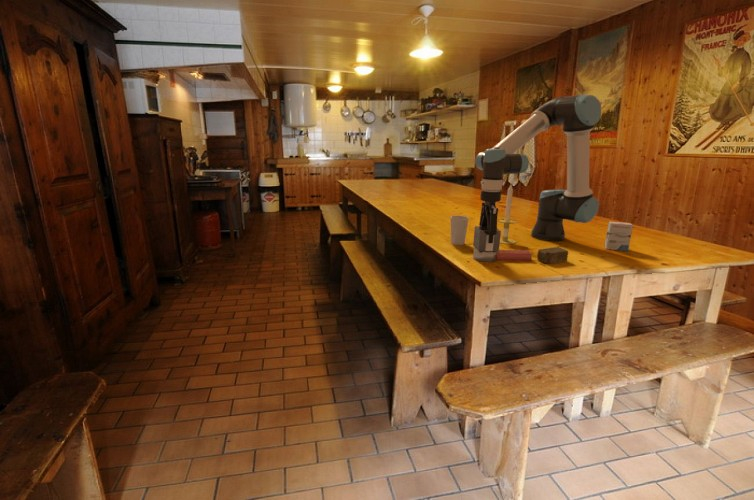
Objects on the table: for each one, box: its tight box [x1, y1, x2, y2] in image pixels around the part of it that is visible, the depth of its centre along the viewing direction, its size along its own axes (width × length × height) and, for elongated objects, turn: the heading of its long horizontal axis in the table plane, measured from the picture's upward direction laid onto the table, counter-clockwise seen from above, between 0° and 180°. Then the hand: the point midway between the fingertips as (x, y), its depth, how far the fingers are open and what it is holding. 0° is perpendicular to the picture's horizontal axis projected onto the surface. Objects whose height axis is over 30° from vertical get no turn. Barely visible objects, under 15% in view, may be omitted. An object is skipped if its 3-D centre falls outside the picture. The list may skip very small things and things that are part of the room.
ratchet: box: [472, 246, 533, 263], centre depth 159 cm, size 22×9×8 cm, turn 91°
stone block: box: [537, 246, 569, 265], centre depth 158 cm, size 6×12×5 cm, turn 113°
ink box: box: [604, 221, 634, 252], centre depth 175 cm, size 8×5×12 cm, turn 71°
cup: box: [450, 215, 470, 246], centre depth 180 cm, size 8×8×12 cm
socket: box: [472, 225, 502, 251], centre depth 158 cm, size 8×8×8 cm
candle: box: [497, 184, 518, 245], centre depth 182 cm, size 10×10×27 cm
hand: (485, 247), depth 159 cm, fingers closed on socket, 8 cm apart
